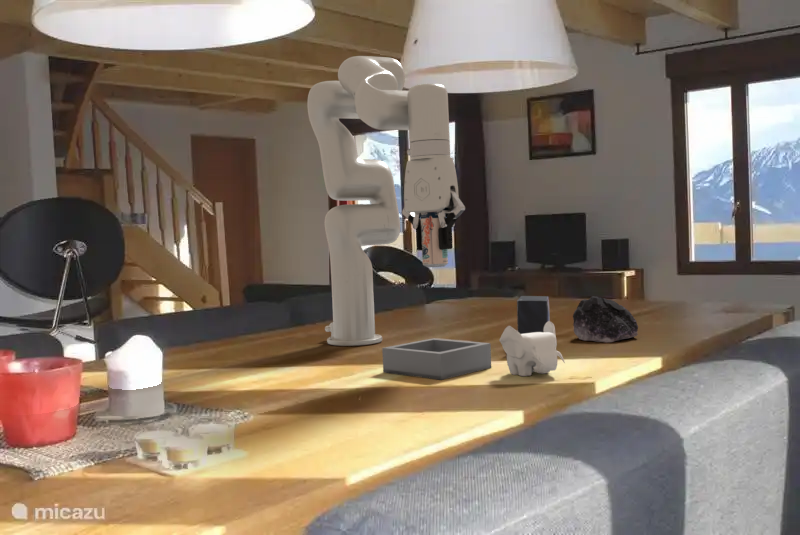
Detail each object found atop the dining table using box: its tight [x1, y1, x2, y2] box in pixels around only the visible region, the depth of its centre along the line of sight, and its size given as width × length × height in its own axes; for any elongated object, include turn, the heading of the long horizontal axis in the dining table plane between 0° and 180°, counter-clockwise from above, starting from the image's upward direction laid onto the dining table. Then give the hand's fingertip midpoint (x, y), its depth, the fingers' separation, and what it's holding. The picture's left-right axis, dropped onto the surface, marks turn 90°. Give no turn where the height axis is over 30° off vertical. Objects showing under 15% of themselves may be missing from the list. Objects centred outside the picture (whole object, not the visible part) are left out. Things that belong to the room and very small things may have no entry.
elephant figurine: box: [499, 320, 566, 377], centre depth 150 cm, size 10×12×9 cm
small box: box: [516, 295, 551, 334], centre depth 181 cm, size 11×6×10 cm, turn 168°
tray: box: [381, 337, 492, 381], centre depth 158 cm, size 14×14×4 cm
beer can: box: [420, 208, 449, 268], centre depth 162 cm, size 5×5×12 cm
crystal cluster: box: [572, 295, 639, 343], centre depth 191 cm, size 13×14×10 cm
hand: (434, 248), depth 162 cm, fingers closed on beer can, 4 cm apart
